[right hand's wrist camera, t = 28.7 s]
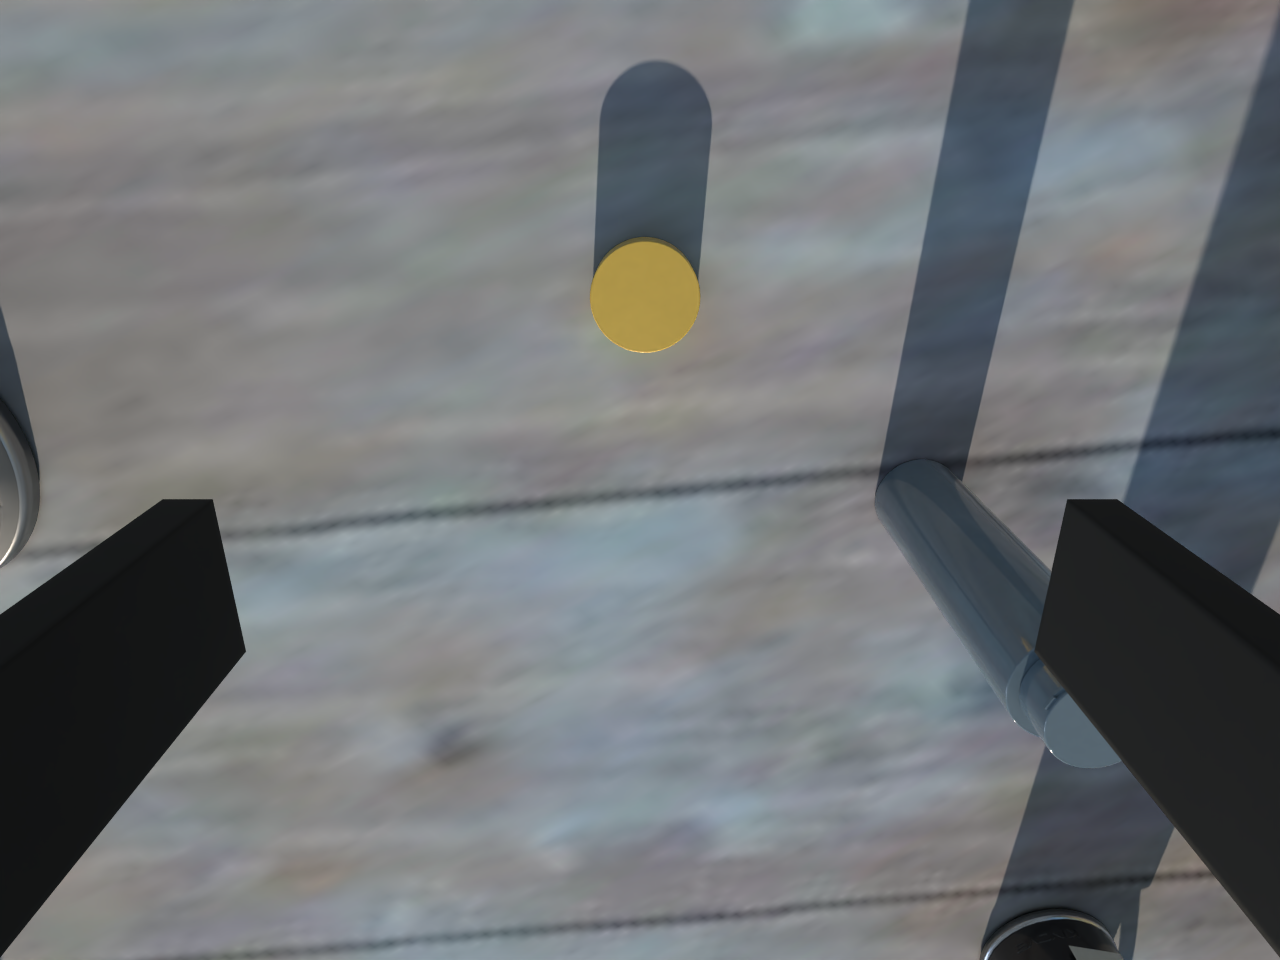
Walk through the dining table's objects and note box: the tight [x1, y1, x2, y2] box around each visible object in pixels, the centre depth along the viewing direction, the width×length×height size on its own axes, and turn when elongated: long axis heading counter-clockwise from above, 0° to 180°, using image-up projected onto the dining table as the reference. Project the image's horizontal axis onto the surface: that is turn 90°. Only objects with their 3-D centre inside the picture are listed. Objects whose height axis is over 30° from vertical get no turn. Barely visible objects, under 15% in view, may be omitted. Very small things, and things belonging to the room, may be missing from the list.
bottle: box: [875, 459, 1122, 768], centre depth 35 cm, size 5×5×19 cm
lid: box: [590, 237, 700, 353], centre depth 39 cm, size 5×5×2 cm
